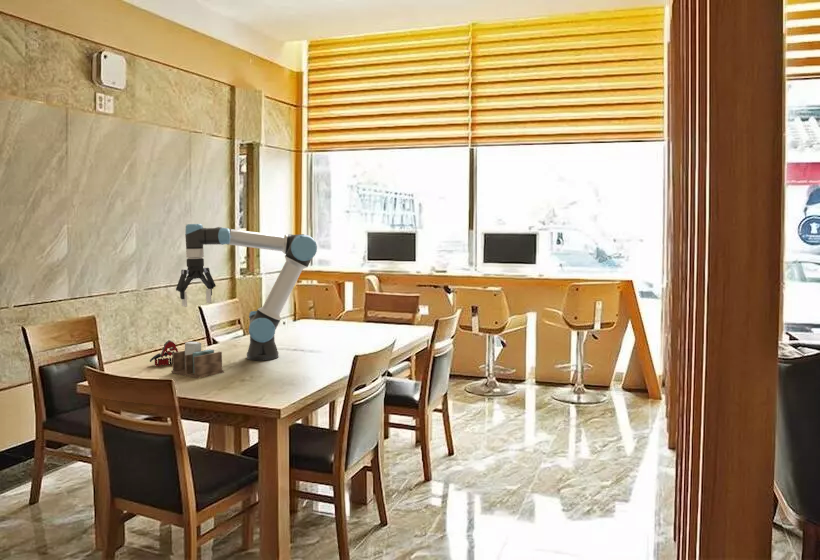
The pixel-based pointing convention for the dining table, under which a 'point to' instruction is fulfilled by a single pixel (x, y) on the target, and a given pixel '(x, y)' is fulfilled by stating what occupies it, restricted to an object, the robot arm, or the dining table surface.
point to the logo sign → (165, 354)
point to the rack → (197, 363)
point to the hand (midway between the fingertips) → (196, 304)
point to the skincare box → (192, 347)
